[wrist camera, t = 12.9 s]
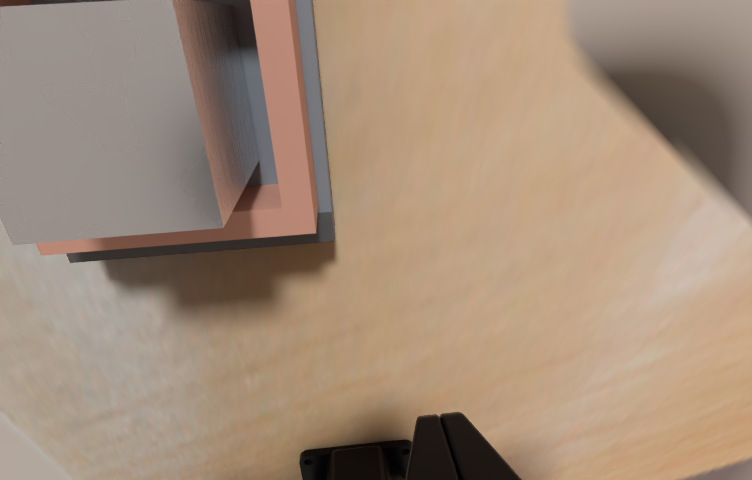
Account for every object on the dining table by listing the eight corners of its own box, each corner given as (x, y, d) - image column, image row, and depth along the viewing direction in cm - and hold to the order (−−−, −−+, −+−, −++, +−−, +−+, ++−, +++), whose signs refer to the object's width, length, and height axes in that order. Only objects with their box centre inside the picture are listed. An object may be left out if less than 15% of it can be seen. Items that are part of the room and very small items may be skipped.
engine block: (259, 159, 16) (223, 227, 11) (119, 169, 16) (12, 244, 11) (232, 5, 14) (171, -3, 9) (69, 14, 14) (-97, 12, 8)
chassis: (334, 223, 19) (334, 270, 16) (98, 242, 19) (43, 295, 15) (300, -124, 14) (288, -172, 10) (-33, -111, 13) (-165, -158, 10)
